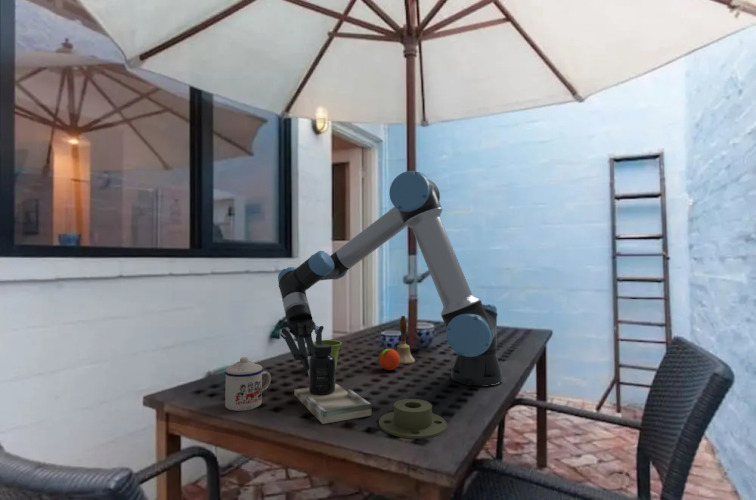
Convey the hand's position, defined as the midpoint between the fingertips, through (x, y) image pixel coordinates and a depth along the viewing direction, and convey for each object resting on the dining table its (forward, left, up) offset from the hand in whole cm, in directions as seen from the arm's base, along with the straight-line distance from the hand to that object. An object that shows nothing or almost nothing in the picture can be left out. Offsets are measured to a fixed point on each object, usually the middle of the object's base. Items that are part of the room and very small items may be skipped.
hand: (314, 379), depth 117 cm
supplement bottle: (-4, +2, -2) cm, 5 cm away
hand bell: (-6, -45, -4) cm, 45 cm away
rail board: (-9, +6, -3) cm, 11 cm away
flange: (-32, +7, -4) cm, 33 cm away
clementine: (-7, -31, -4) cm, 32 cm away
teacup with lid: (+9, +15, -4) cm, 18 cm away
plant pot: (+11, -22, -4) cm, 25 cm away
